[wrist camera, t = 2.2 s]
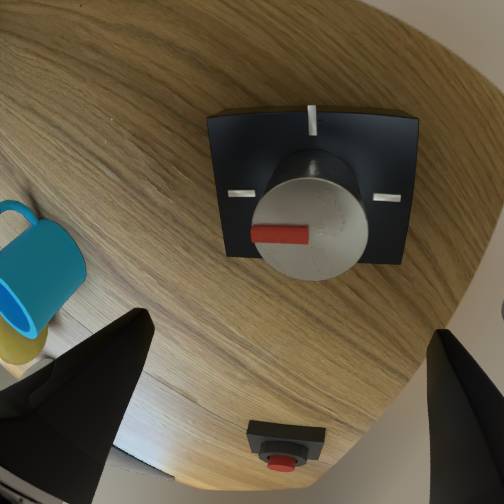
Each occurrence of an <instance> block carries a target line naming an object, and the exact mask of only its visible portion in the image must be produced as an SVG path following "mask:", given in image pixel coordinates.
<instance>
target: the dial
mask: <svg viewBox="0 0 504 504" xmlns="http://www.w3.org/2000/svg"><path fill="white" fill-rule="evenodd" d="M368 236H369V227H368V220H367V216H366V212H365V208H364V204H363V200H362V196H361V193H360V189H359V185H358V182H357V179H356V177H355V174H354V173H353V171H352V170H351V168H350V167H349V166H348V165H347V164H346V163H345V162H344V161H343V160H342V159H340V158H339V157H337V156H335V155H333V154H331V153H328V152H325V151H320V150H306V151H301V152H297V153H295V154H293V155H290V156H289V157H287V158H286V159H284V160H283V161H282V162H281V163H280V164H279V165H278V166H277V168H276V169H275V171H274V173H273V175H272V177H271V179H270V181H269V183H268V185H267V187H266V189H265V191H264V193H263V195H262V197H261V199H260V201H259V203H258V205H257V207H256V209H255V211H254V215H253V218H252V228H251V239H252V242H254V243H255V245H256V248H257V250H258V252H259V253H260V255H261V256H262V257H263V259H264V260H265V261H266V262H267V263H268V264H269V265H270V266H271V267H273V268H274V269H275V270H277V271H278V272H280V273H282V274H284V275H286V276H288V277H291V278H294V279H299V280H304V281H321V280H326V279H331V278H334V277H336V276H338V275H341V274H343V273H344V272H346V271H347V270H349V269H350V268H351V267H352V266H354V264H355V263H356V262H357V261H358V260H359V259H360V257H361V256H362V254H363V252H364V250H365V248H366V245H367V242H368Z"/></svg>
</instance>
